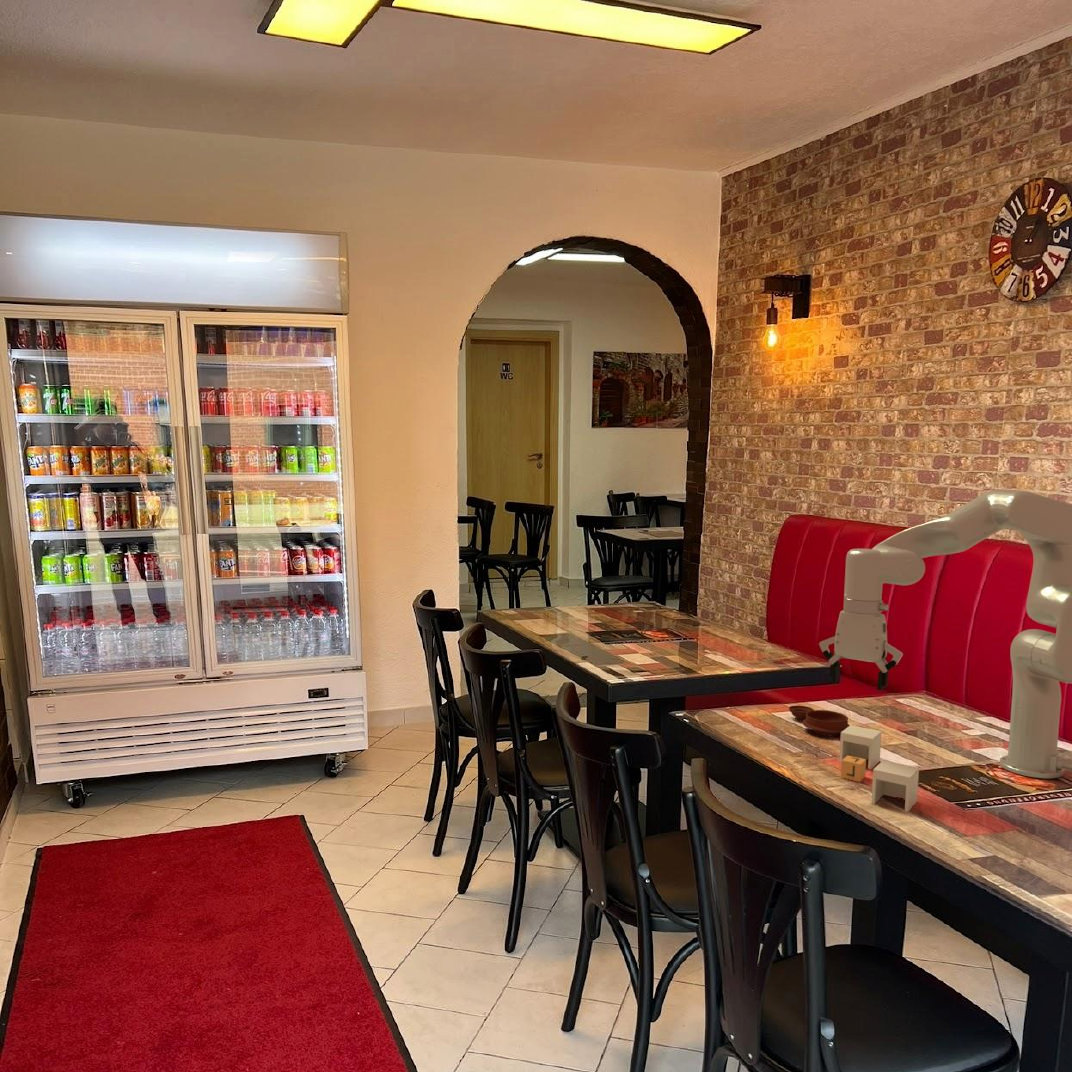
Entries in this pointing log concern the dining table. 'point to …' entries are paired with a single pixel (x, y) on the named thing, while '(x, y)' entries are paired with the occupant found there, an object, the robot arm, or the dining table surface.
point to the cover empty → (895, 782)
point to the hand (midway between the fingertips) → (858, 685)
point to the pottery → (820, 720)
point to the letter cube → (853, 768)
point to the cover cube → (861, 744)
